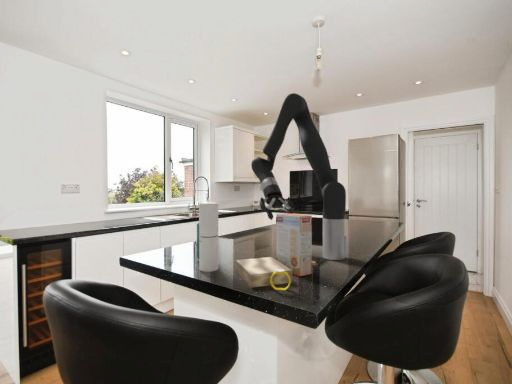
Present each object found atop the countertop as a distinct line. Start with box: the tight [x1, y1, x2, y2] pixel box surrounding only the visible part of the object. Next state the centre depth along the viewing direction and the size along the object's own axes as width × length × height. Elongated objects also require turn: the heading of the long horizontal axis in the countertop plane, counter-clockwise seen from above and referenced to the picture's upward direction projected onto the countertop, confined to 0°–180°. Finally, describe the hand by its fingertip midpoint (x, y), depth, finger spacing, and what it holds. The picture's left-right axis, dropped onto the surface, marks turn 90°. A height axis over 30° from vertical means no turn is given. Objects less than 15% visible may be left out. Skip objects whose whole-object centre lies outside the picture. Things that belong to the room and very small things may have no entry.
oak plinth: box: [235, 256, 293, 288], centre depth 93 cm, size 14×18×4 cm
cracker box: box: [276, 212, 313, 277], centre depth 99 cm, size 14×6×21 cm, turn 31°
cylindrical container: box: [198, 202, 220, 273], centre depth 102 cm, size 7×7×25 cm
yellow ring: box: [270, 269, 291, 291], centre depth 81 cm, size 6×3×6 cm, turn 80°
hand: (281, 218), depth 109 cm, fingers open, 8 cm apart
